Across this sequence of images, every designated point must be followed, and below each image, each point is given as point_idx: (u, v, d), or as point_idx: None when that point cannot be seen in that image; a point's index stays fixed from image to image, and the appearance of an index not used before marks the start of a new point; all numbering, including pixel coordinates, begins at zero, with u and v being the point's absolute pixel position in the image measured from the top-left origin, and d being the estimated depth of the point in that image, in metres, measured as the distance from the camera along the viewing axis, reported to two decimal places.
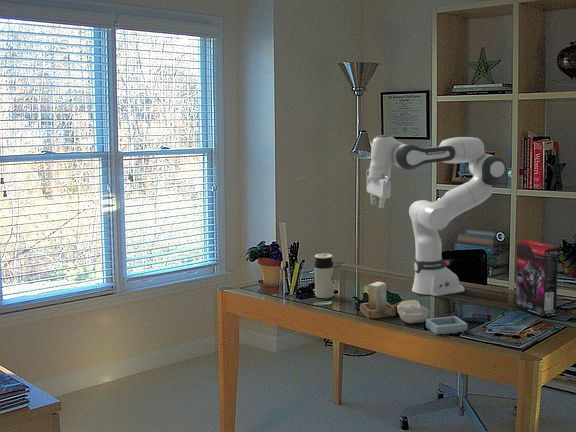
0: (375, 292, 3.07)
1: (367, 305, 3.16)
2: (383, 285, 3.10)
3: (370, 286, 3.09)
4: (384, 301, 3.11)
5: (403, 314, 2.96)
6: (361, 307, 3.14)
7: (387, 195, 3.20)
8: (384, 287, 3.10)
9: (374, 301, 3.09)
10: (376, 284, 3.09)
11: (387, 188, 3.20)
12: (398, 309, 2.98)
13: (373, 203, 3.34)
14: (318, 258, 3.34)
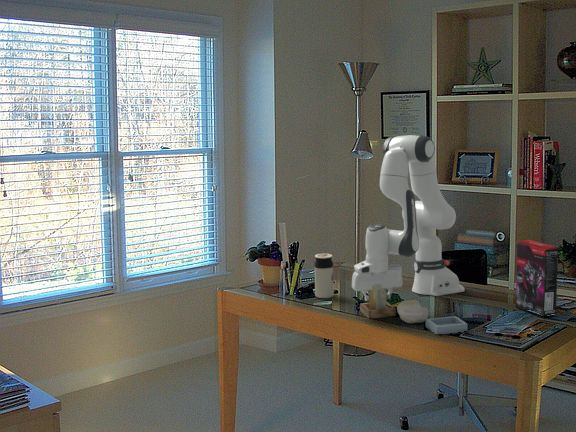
0: (375, 292, 3.07)
1: (367, 305, 3.16)
2: None
3: None
4: (384, 300, 3.11)
5: (403, 314, 2.96)
6: (361, 307, 3.14)
7: None
8: None
9: (374, 301, 3.09)
10: None
11: None
12: (398, 309, 2.98)
13: None
14: (318, 258, 3.34)
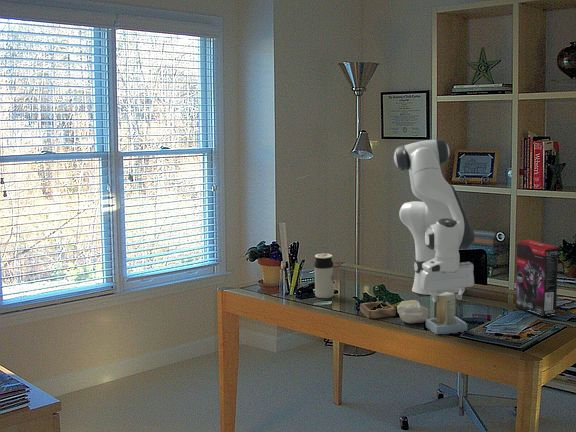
0: (445, 303, 2.85)
1: (367, 305, 3.16)
2: (453, 296, 2.88)
3: (439, 296, 2.87)
4: (453, 313, 2.89)
5: (403, 314, 2.96)
6: (361, 307, 3.14)
7: None
8: (454, 298, 2.88)
9: (443, 312, 2.86)
10: (445, 295, 2.87)
11: None
12: (398, 309, 2.98)
13: None
14: (318, 258, 3.34)
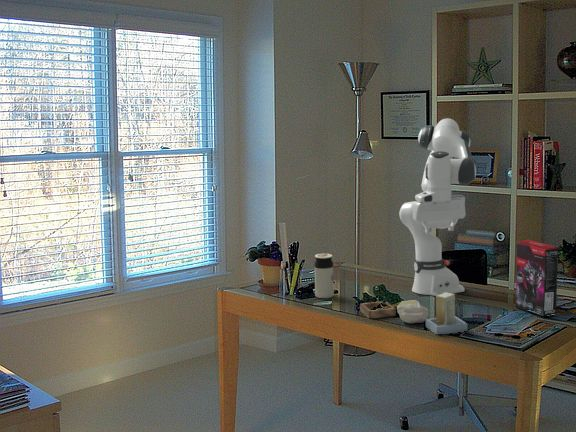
0: (444, 304, 2.85)
1: (367, 305, 3.16)
2: (452, 296, 2.87)
3: (438, 297, 2.87)
4: (453, 313, 2.89)
5: (403, 314, 2.96)
6: (361, 307, 3.14)
7: None
8: (453, 298, 2.88)
9: (443, 313, 2.86)
10: (445, 296, 2.86)
11: None
12: (398, 309, 2.98)
13: None
14: (318, 258, 3.34)
